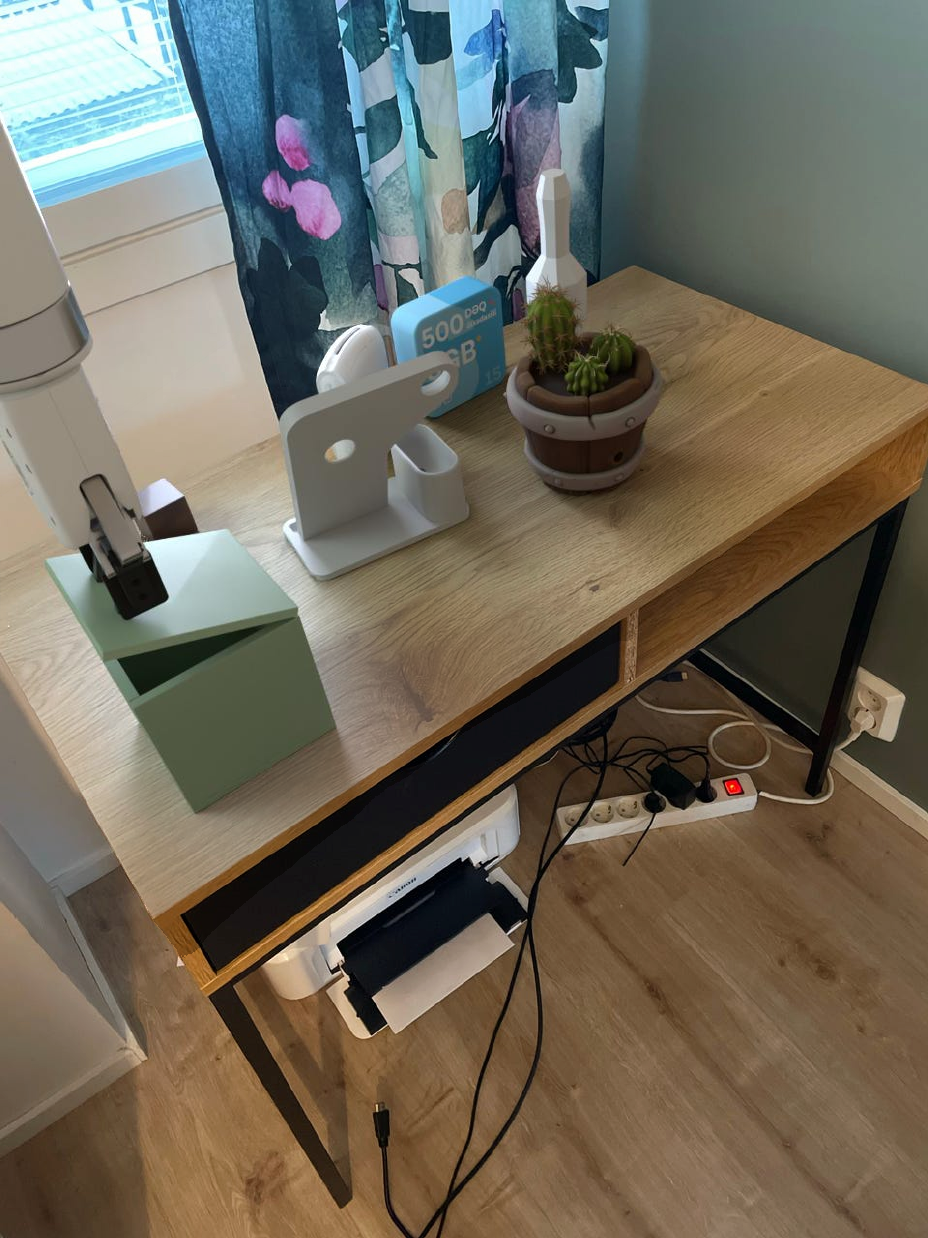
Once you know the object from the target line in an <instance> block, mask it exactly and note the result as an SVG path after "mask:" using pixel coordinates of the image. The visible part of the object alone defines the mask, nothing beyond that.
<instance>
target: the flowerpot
mask: <svg viewBox="0 0 928 1238" xmlns="http://www.w3.org/2000/svg"><path fill="white" fill-rule="evenodd" d="M542 276H543V275H542ZM543 278H544V277H543ZM544 280H545V282H546V285H547V287H546V286H545V285H543V286H542V285H539V284H538V282H537V283H535V284H537V285H539V286H540V287H541V288H542V289H543V290H539V287H538V288H537V289H538V290H536V289H534V290H536V291H538V293H531V294H533V295H534V294H535V295H537V297H536V296H535V295H534V296H535V298H534V297H532V298H534V300H531V301H532V302H531V301H530V300H529V304H528V303H527V297H526V299H525V300H524V303H523V302H521V301H519V303H520V304H521V305H523V306H522V307H521V309H523V308H526V309H524V310H523V311H522V313H524V312H526V313H525V314H524V318H525V319H524V318H523V317H522V316H521V315H519V317H520V321H519V320H516V322H517V326H518V325H521V326H519V328H521V327H522V328H521V331H523V330H524V329H525V330H527V332H528V334H527V333H523V332H521V334H522V336H523V337H524V338H523V337H522V340H521V341H519V342H520V343H524V344H523V348H526V346H527V345H528V346H529V347H531V346H532V347H531V348H530V350H529V351H528V352H527V355H523V356H521V357H520V359H519V360H518V362H517V365H516V366H515V367H514V369H513V370H512V371H511V373H510V375H509V377H508V380H507V383H506V391H505V392H504V393H503V397H504V398H505V399H506V400H507V405H508V407H509V411H510V412H511V414H512V416H513V417H514V418H515V419H516V420H517V421H518V422H519V423H520V424H521V426H522V430H523V432H524V435H525V441H524V451H523V456H524V457H525V458H526V460H527V462H528V465H529V467H530V468H531V470H532V471H533V473H534V474H535V475H536V476H537V477H539V479H540V480H541V481H542V482H543V483H544V485H545V486H546V487H548V488H550V489H553V490H554V491H556V492H558V493H561V494H563V493H565V492H569V494H571V495H573V496H582V495H586V494H587V493H588V492H589V493H591V494H593V495H595V494H596V495H597V494H602V493H603V494H604V493H606V492H609V491H611V490H613V489H616V488H617V487H619V486H621V485H622V484H623V483H625V482H626V481H627V480H628V478H629V477H630V476H631V475H632V474H633V473H634V472H635V471H636V469H637V468H638V466H639V465H640V462H641V460H642V457H643V455H644V451H645V448H646V446H647V444H646V439H645V434H644V430H645V428H646V425H647V423H648V419H649V418H650V417H651V416H652V415H653V413H655V411H656V409H657V408H658V406H659V404H660V400H661V398H662V394H663V388H664V385H665V383H666V379H665V378H664V377H663V376H662V373H661V370H660V368H659V366H658V365H657V364H656V363H655V361H653V359H652V358H651V357H652V356H651V354H650V352H649V350H648V349H647V348H646V346H645V345H642V344H637V343H636V340H635V339H634V338H633V335H632V334H633V332H632V331H631V330H630V329H627V328H626V331H627V333H628V335H629V336H628V335H627V334H625V333H622V332H625V328H623V327H621V326H622V325H619V326H618V327H617V329H615V325H617V322H612V323H609V322H607V321H605V323H606V325H607V327H606V326H604V327H602V328H601V329H603V330H604V331H602V330H601V329H598V331H584V333H581V334H580V335H579V337H578V335H577V334H578V332H577V334H575V328H576V325H577V324H578V323H579V322H580V323H581V319H582V318H583V317H584V316H583V317H582V318H581V319H580V318H579V319H578V314H577V316H576V317H577V319H576V317H575V315H574V310H575V309H576V308H577V306H578V305H580V304H579V303H578V304H577V305H575V303H576V302H579V301H576V300H574V301H575V302H574V301H573V302H574V304H573V302H572V299H571V302H570V300H569V299H568V300H567V299H566V298H565V297H563V296H565V295H568V294H565V293H567V292H566V291H565V290H566V289H565V290H564V291H563V293H562V289H561V290H559V286H560V284H558V285H555V286H554V287H552V286H551V287H552V288H551V287H550V284H549V289H548V283H549V281H548V276H547V281H546V279H545V278H544ZM533 283H534V282H533ZM542 284H543V283H542ZM544 286H545V287H544ZM557 286H558V288H557V289H558V290H557V291H556V289H555V288H556V287H557ZM544 288H545V289H544ZM546 288H547V290H546ZM550 288H551V289H550ZM560 288H561V287H560ZM554 289H555V291H556V292H553V291H554ZM567 289H568V288H567ZM552 290H553V291H552ZM541 291H542V292H541ZM543 291H544V292H543ZM559 292H561V293H559ZM568 292H569V291H568ZM571 295H572V294H571ZM569 296H570V295H569ZM529 297H531V296H529ZM566 297H567V296H566ZM574 299H576V298H574ZM530 302H531V303H530ZM581 304H583V303H581ZM579 307H580V306H579ZM578 309H579V308H578ZM580 310H581V309H580ZM581 311H582V310H581ZM575 312H576V311H575ZM581 315H582V313H581ZM580 317H581V316H580ZM587 319H588V318H587V317H586V319H585V321H586V320H587ZM579 320H580V321H579ZM583 321H584V320H582V322H583ZM580 323H579V324H580ZM578 326H579V325H578ZM580 326H582V324H580ZM581 328H582V327H581ZM609 328H610V331H609V330H608V329H609ZM577 329H578V327H577ZM620 330H621V331H620ZM581 331H582V330H581ZM599 331H600V332H599ZM524 334H525V335H524ZM576 335H577V336H576ZM634 341H635V342H634Z"/></svg>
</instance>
